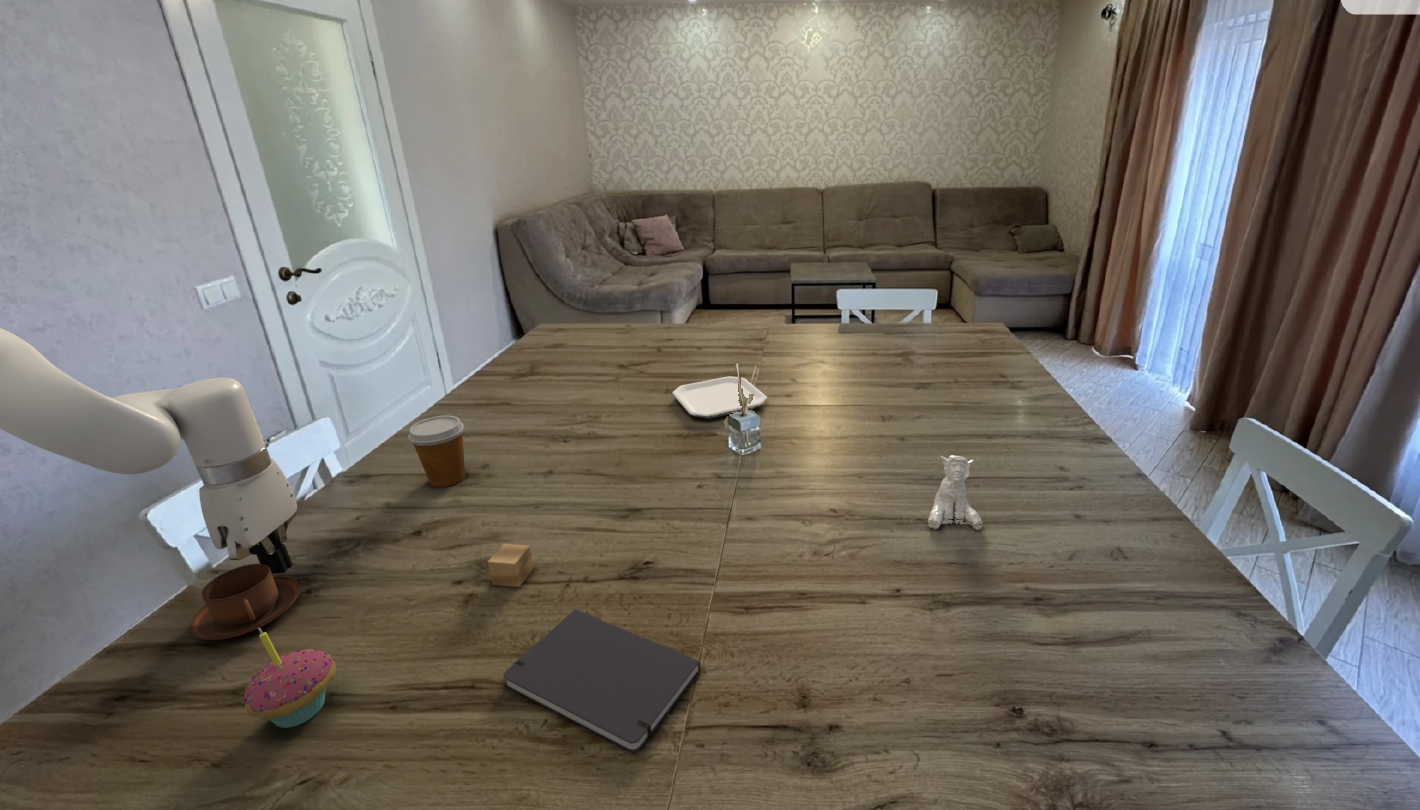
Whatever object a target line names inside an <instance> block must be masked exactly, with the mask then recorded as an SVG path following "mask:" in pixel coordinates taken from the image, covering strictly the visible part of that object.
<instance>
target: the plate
mask: <svg viewBox="0 0 1420 810" xmlns="http://www.w3.org/2000/svg"><path fill="white" fill-rule="evenodd" d="M738 377H739V376H731V375H729V376H724V377H718V378H713V379H709V380H702V381H698V382H693V383H687V384H681V385H679V386H678V387H677V388H676V389H674V390H673V391H672V393H671V394H672V395H671V396H673V398H675V400H677V402H678V403H679V404H680V405H681V407H683V409H684V410H685V411H686V412H687V413H688V414H689V415H690V416H693V417H696V418H700V419H707V420H709V419H717V418H721V417H725V416H729V415H728V413H731V412H736V411H738V412H739V413H742V412H741V411H740V410H741V408H742V406H740V403H739V401H738V400H739V396H738V394H739V392H738ZM741 388H742V389H743V394H744V396H745V397H746V398H749V394H754V396H753V400H752V401H751V403H750V404H748V405H747V406H748V411H752V410H754V409H757V408H759V407H761V406H763V405H764V404H765V402H766V401H767V400H768V396H767V395H766V394H764V393H763V392H762V391H761V390H760V389H758V388H757V387H756V386H755V385H754V384H753V383H751V382H750V381H749V380H747V379H746V378H745V377H741ZM751 408H752V409H751Z"/></svg>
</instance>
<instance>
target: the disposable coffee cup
mask: <svg viewBox="0 0 1420 810" xmlns="http://www.w3.org/2000/svg"><path fill="white" fill-rule="evenodd" d="M464 428H465V424H464V423H463V422H462V421H461V419H460V418H459V417H458V416H455V415H438V416H432V417H429V418H425V419H423V420H420V421H418V422H416V423H414V424H413V425H412V426H410V427H409V433H408V436H407V438H408V440H409V441H410V443H412V444H413V447H414V449H415V452H416V454H417V456H418V458H419V461H420V463H421V465H422V468H423V470H424V472H425V475H426V478H427V479H428V482H429V484H430V486H432V487H434V488H435V487H436V488H444V487H449V486H450V487H451V486H453V485H455V484H457V483H460V482H461V481H463V480H464V478H465V477H466V465H465V464H466V463H465V451H464V450H465V449H464V437H463V436H464V435H463V432H464Z"/></svg>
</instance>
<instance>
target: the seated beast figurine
mask: <svg viewBox="0 0 1420 810" xmlns="http://www.w3.org/2000/svg"><path fill="white" fill-rule="evenodd" d="M939 458H940V460H941V462H942V464H943V465H944V467H943V473H944V475H945V477H944V478H943V479H942V480H941V482H940V485H939V488H938V491H937V493H935V497H934V500H933V506H932V508H931V511H930V512H929V516H928V518H927V519H928V520H927V526H928V527H929V528H930V529H933V530H938V529H939V528H940V526H941V525H952V524H956V525H970V527H972V528H973V530H975V531H980V530H981V529H982V528H983V524H984V522H983V520H982V518H981V516H980V514H979V513H978V512H977V511H976V510H975V509H974V508H972V506H971V504H970V502H969V500H968V499H967V497H968V496H967V495H968V491H967V485H966V483H965V482H966V480H967V479H968V478H969V477H970V476H971V470H970V468H971V465H972V463H973V462H974V461H975V460H974V459H970V460H968V459H967V457H964V456H962V455H949V456H948V458H947V457H945V456H943V455H940V456H939ZM943 515H944V516H943ZM964 516H965V517H964ZM954 517H955V518H956V519H962V520H956V519H955V518H954ZM963 518H964V519H963ZM948 519H953V520H948ZM966 519H967V520H968V521H970V522H972V524H973V525H972V524H971V523H970V522H968V521H967V520H966ZM929 523H930V524H929ZM932 523H933V524H932ZM934 524H936V525H934ZM979 524H982V525H979ZM974 525H978V526H974Z"/></svg>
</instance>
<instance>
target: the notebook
mask: <svg viewBox="0 0 1420 810" xmlns="http://www.w3.org/2000/svg"><path fill="white" fill-rule="evenodd" d="M700 672H701V662H700V660H697V659H695V658H693V657H690V656H688V655H686V654H683V653H680V652H679V651H676V650H673V649H671V648H668V647H667V646H664V645H661V644H660V643H658V642H655V641H652V640H650V639H647V638H646V637H643V636H640V635H638V634H635V633H633V632H631V631H628V630H626V629H624V628H621V627H620V626H616V625H615V624H612V623H609V622H608V621H605V620H602V619H600V618H598V617H595V616H593V615H591V614H589V613H586V612H584V611H580V610H579V609H576V608H575V609H573V610H572V611H571V612H570V613H569V614H568V615H567V616H566V617H564V618H563V619H562V620H561V621H560V622H559V623H558V624H557V625H556V626H554V627H553V628H552V629H551V630H550V631H549V632H548V633H547V634H545V635H544V636H543V637H542V638H541V639H540V640H539V641H538V642H536V643H535V644H534V645H533V646H532V647H531V648H530V649H529V650H528V651H526V652H525V653H524V654H523V655H522V656H521V657H520V658H518V659H517V660H516V661H514V663H513V664H512V665H511V666H510V667H508V668H507V670H505V672H504V673H503V678H504V679H505V683H504V684H505V687H506V688H508V689H510V690H512V691H513V692H515V693H518V694H519V695H521V696H523V697H525V698H527V699H529V700H531V701H533V702H535V703H537V704H539V705H540V706H542V707H545V708H547V709H548V710H550V711H551V712H554V713H556V714H558V715H559V716H561V717H563V718H565V719H567V720H569V721H571V722H573V723H575V724H577V725H579V726H581V727H583V728H585V729H587V730H589V731H590V732H593V733H594V734H596V735H598V736H600V737H602V738H604V739H605V740H608V741H610V742H611V743H613V744H615V745H617V746H618V747H621V748H623V749H624V750H626V751H628V752H631V753H636V752H639V751H640V750H641V749H642V748H643V747H644V745H645V744H646V742H647V741H648V740H649V739H650V738H651V737H652V735H653V733H654V732H655V731H656V729H657V728H658V727H659V725H660V724H661V723H662V722H663V720H664V719H665V718H666V716H667V715H668V714H669V712H670V711H671V709H672V708H673V707H674V706H675V705H676V703H677V702H678V700H679V699H680V698H681V697H682V695H683V694H684V693H685V691H686V690H687V689H688V687H689V686H690V685H691V683H692V682H693V681H694V679H695V678H696V677H697V675H698V674H699V673H700Z"/></svg>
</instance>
